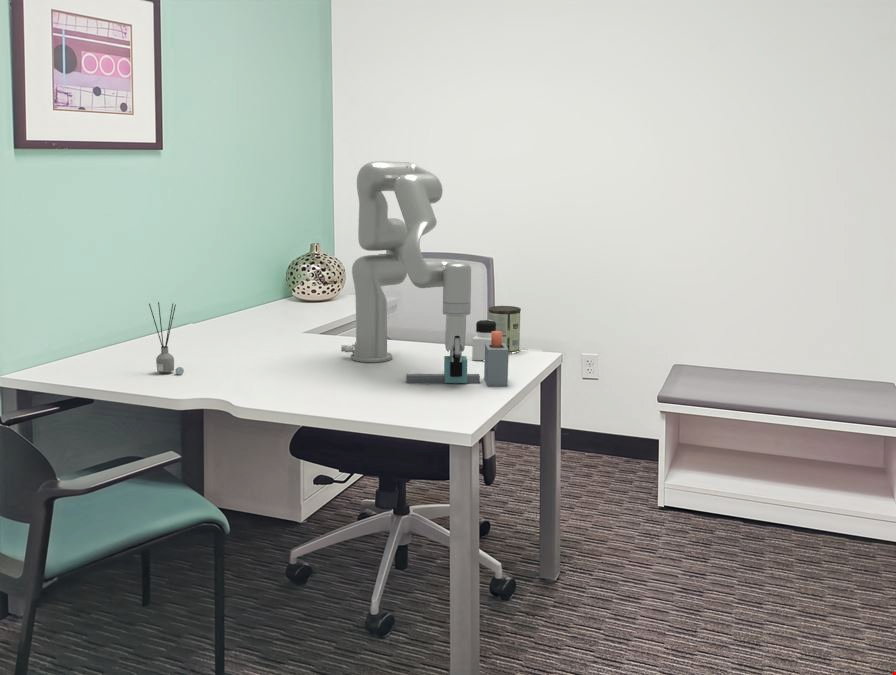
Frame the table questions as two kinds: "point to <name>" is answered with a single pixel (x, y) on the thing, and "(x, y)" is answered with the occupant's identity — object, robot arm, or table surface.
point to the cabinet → (496, 365)
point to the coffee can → (507, 325)
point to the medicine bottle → (482, 338)
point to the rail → (437, 378)
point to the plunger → (496, 339)
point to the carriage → (447, 371)
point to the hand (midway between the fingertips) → (455, 373)
